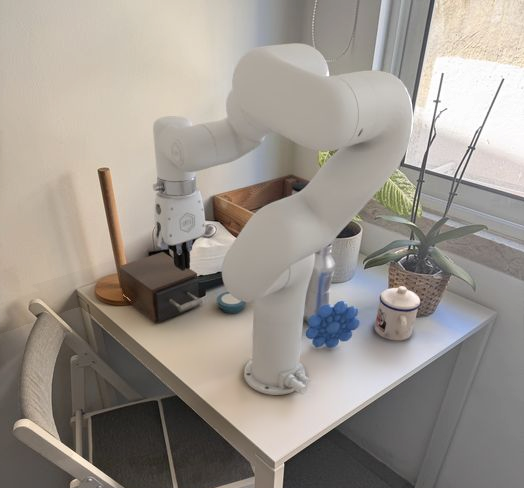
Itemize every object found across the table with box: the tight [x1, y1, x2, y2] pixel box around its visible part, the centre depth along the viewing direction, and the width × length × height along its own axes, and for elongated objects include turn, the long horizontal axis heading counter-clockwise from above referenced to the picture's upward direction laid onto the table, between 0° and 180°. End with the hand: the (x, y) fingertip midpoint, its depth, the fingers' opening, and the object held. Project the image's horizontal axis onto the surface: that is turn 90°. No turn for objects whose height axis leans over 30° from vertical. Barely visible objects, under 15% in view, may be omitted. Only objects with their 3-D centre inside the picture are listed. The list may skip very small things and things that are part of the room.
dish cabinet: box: [118, 251, 198, 324], centre depth 125 cm, size 15×13×9 cm
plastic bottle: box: [303, 242, 336, 323], centre depth 117 cm, size 6×7×20 cm
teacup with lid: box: [374, 285, 421, 342], centre depth 116 cm, size 12×9×12 cm
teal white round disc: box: [216, 291, 247, 314], centre depth 126 cm, size 7×7×3 cm
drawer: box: [155, 277, 203, 323], centre depth 122 cm, size 19×11×7 cm, turn 42°
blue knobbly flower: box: [305, 300, 361, 349], centre depth 112 cm, size 12×7×12 cm, turn 93°
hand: (182, 267), depth 113 cm, fingers closed
